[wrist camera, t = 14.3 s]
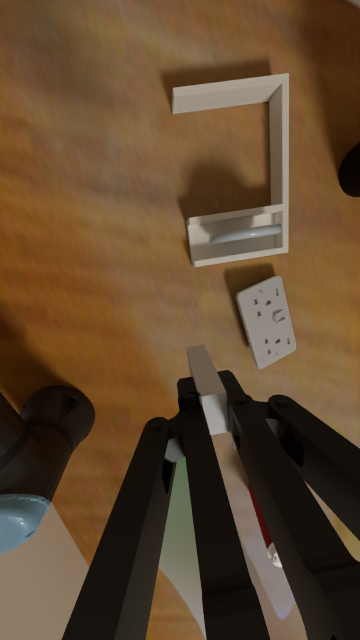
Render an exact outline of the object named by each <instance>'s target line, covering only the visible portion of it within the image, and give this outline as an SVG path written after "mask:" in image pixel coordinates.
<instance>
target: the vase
mask: <svg viewBox="0 0 360 640" xmlns="http://www.w3.org/2000/svg"><path fill="white" fill-rule="evenodd" d="M339 182H340V186H341V188H342V190H343V191H344V192H345V193H346V194H347V195H349V196H353V197H360V142H359V143H358V144H357V145H356V146H355V147H354V148H353V149H352V150H351V151H350V152H349V153H347V155H346V156H345V158H344V159H343V161H342V163H341V166H340V169H339Z"/></svg>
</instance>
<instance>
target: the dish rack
mask: <svg viewBox="0 0 360 640" xmlns="http://www.w3.org/2000/svg"><path fill="white" fill-rule="evenodd" d="M261 102H269V124H270V179H271V206H265V207H259V208H252V209H245V210H238V211H232V212H225V213H218V214H212V215H205V216H198V217H192V218H188V220H187V221H186V223H187V231H188V239H189V247H190V255H191V263H192V266H193V267H199V266H205V265H211V264H218V263H224V262H230V261H237V260H243V259H249V258H256V257H262V256H268V255H275V254H281V253H287V252H288V174H289V73H286V74H278V75H270V76H263V77H255V78H247V79H239V80H231V81H223V82H215V83H207V84H199V85H192V86H184V87H176V88H173V94H172V113H173V114H177V113H185V112H193V111H200V110H208V109H216V108H223V107H231V106H238V105H246V104H254V103H261ZM273 224H281V233H278V234H272V235H267V236H261V237H254V238H248V239H242V240H236V241H229V242H223V243H216V244H209V236H211V235H215V234H219V233H224V232H229V231H235V230H240V229H246V228H252V227H258V226H265V225H273Z"/></svg>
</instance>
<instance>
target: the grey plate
mask: <svg viewBox="0 0 360 640" xmlns="http://www.w3.org/2000/svg"><path fill="white" fill-rule="evenodd" d="M278 233H281V224H273V225H265V226H258V227H252V228H246V229H240V230H235V231H229V232H224V233H219V234H215V235H211V236H209V244H216V243H223V242H229V241H236V240H242V239H248V238H254V237H261V236H267V235H272V234H278Z"/></svg>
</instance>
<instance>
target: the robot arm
mask: <svg viewBox="0 0 360 640" xmlns="http://www.w3.org/2000/svg"><path fill="white" fill-rule="evenodd" d="M186 349H187V356H188V363H189V369H190V376H191V377H188V378H182V379H179V381H178V382H177V388H178V404H179V412H178V414H177V415H176V416H175V417H173V418H171V419H169V420H167V419H165V418H164V417H155V418H153V419H151V420H149V421H148V422H147V423H146V425H145V427H144V429H143V432H142V434H141V437H140V440H139V442H138V445H137V447H136V450H135V452H134V455H133V458H132V460H131V463H130V465H129V468H128V470H127V473H126V476H125V478H124V481H123V483H122V486H121V488H120V491H119V493H118V496H117V499H116V501H115V504H114V506H113V509H112V511H111V514H110V517H109V519H108V522H107V524H106V527H105V529H104V532H103V535H102V537H101V540H100V542H99V545H98V547H97V550H96V553H95V555H94V558H93V560H92V563H91V565H90V568H89V571H88V573H87V576H86V578H85V581H84V583H83V586H82V588H81V591H80V594H79V596H78V599H77V601H76V604H75V607H74V609H73V612H72V614H71V617H70V619H69V622H68V624H67V627H66V630H65V632H64V635H63V638H62V640H145V639H146V633H147V627H148V622H149V616H150V610H151V605H152V599H153V593H154V588H155V582H156V576H157V571H158V565H159V559H160V554H161V548H162V542H163V537H164V531H165V525H166V519H167V513H168V508H169V502H170V497H171V491H172V486H173V480H174V474H175V468H176V461H177V460H179V459H181V458H183V457H186V465H187V474H188V482H189V490H190V497H191V506H192V515H193V523H194V530H195V539H196V547H197V555H198V563H199V572H200V580H201V588H202V603H203V613H204V622H205V630H206V637H207V640H270V637H269V633H268V630H267V626H266V623H265V620H264V616H263V613H262V609H261V605H260V602H259V599H258V595H257V593H256V590H255V587H254V586H253V584H252V581H251V578H250V575H249V572H248V568H247V565H246V561H245V557H244V554H243V550H242V547H241V543H240V539H239V536H238V532H237V529H236V525H235V521H234V518H233V514H232V510H231V507H230V503H229V500H228V496H227V492H226V489H225V485H224V482H223V478H222V474H221V471H220V467H219V464H218V460H217V456H216V453H215V449H214V446H213V442H212V438H211V435H214V434H219V433H225V432H230V427H231V430H232V436H233V446H234V449H236V448H237V451H238V453H239V456H240V458H241V461H242V464H243V466H244V469H245V471H246V474H247V477H248V479H249V482H250V484H251V487H252V489H253V492H254V495H255V497H256V500H257V502H258V505H259V508H260V510H261V513H262V515H263V518H264V521H265V523H266V526H267V528H268V531H269V534H270V536H271V539H272V541H273V544H274V546H275V549H276V552H277V554H278V557H279V559H280V562H281V565H282V567H283V570H284V572H285V575H286V578H287V580H288V583H289V585H290V588H291V590H292V593H293V596H294V598H295V601H296V603H297V606H298V608H299V611H300V614H301V617H302V620H303V623H304V626H305V630H306V634H307V638H308V640H360V562H358V561H356V560H355V559H354V558H353V557H352V556H351V554H350V553H349V551H348V550H347V548H346V547H345V545H344V543H343V542H342V540H341V539H340V537H339V536H338V534H337V532H336V531H335V529H334V528H333V526H332V524H331V523H330V521H329V520H328V518H327V516H326V515H325V513H324V512H323V510H322V509H321V507H320V505H319V504H318V502H317V501H316V499H315V497H314V496H313V494H312V493H311V491H310V489H309V488H308V486H307V485H306V483H307V484H308V485H309V486H310V487H311V488H312V489H313V490H314V491H315V493H316V494H317V495H318V496H319V497H320V498H321V499H322V500H323V501H324V502H325V504H326V505H327V506H328V507H329V508H330V509H331V510H332V511H333V512H334V513H335V514H336V516H337V517H338V518H339V519H340V520H341V521H342V522H343V523H344V524H345V525H346V527H347V528H348V529H349V530H350V531H351V532H352V533H353V534H354V535H355V536H356V538H357V539H358V540H359V541H360V449H359V448H358V447H357V446H355V445H354V444H353V443H351V442H350V441H348V440H347V439H346V438H344V437H343V436H342V435H340V434H339V433H338V432H336V431H335V430H333V429H332V428H331V427H329V426H328V425H327V424H325V423H324V422H323V421H321V420H320V419H318V418H317V417H316V416H314V415H313V414H312V413H310V412H309V411H308V410H306V409H305V408H303V407H302V406H301V405H299V404H298V403H297V402H295V401H294V400H293V399H291V398H289V397H287V396H284V395H273V396H271V397H270V398H269V400H268V402H259V401H254V400H253V399H252V398H251V397H250V396H249V395H247V394H245V393H244V391H243V389H242V388H241V386H240V384H239V383H238V381H237V379H236V378H235V376H234V374H233V373H232V372H230V371H229V370H224V371H219V372H217V371H216V369H215V367H214V365H213V363H212V361H211V359H210V357H209V354H208V352H207V350H206V348H205V346H204V345H198V346H192V347H187V348H186ZM94 421H95V410H94V407H93V405H92V403H91V401H90V400H89V399H88V398H87V397H86V396H85V395H84V394H83V393H81V392H79V391H78V390H76V389H73V388H70V387H66V386H48V387H45V388H42V389H40V390H38V391H36V392H35V393H34V394H33V395H32V396H31V397H30V398H29V399H28V400H27V401H26V402H25V404H24V405H23V407H22V410H21V413H20V415H19V414H18V413H17V412H16V410H15V409H14V408H13V407H12V406H11V404H10V403H9V402H8V401H7V400H6V398H5V397H4V396H3V395H2V393H1V392H0V553H4V552H7V551H10V550H13V549H15V548H17V547H19V546H21V545H22V544H23V543H25V542H26V541H27V540H28V539H29V538H30V537H31V536H32V535H33V534H34V533H35V531H36V529H37V528H38V526H39V524H40V521H41V520H42V518H43V516H44V514H45V512H46V511H47V510H48V508H49V505H50V502H51V500H52V498H53V495H54V493H55V491H56V489H57V486H58V484H59V482H60V479H61V477H62V475H63V472H64V470H65V468H66V465H67V463H68V461H69V459H70V456H71V454H72V452H73V451H74V450H75V449H76V447H77V446H78V445H79V443H80V442H81V441H83V440H84V439H85V438H86V437H87V435H88V434H89V432H90V431H91V429H92V426H93V424H94ZM303 479H304V480H305V481H304V480H303ZM305 482H306V483H305Z"/></svg>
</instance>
